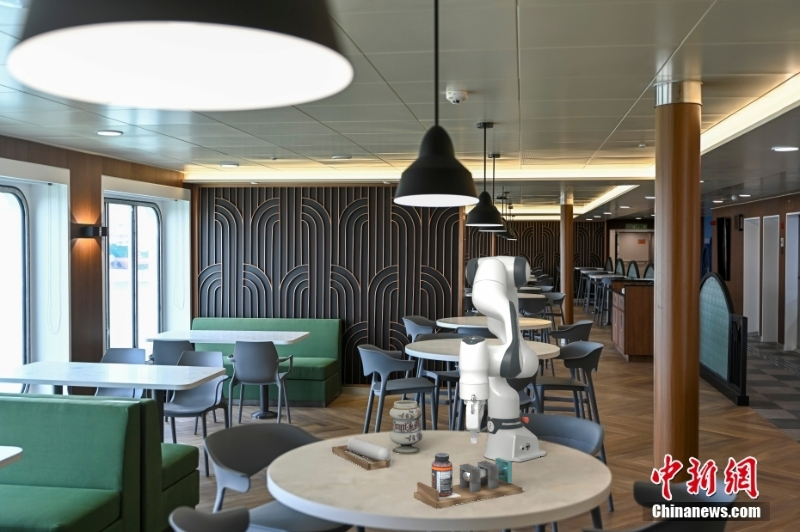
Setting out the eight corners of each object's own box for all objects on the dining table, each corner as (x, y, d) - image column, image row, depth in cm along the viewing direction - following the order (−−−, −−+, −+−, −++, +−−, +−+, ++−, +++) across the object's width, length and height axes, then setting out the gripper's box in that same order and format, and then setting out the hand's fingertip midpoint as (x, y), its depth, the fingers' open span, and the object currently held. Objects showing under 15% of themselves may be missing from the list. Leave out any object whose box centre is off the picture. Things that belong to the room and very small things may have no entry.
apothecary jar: (402, 445, 276) (402, 397, 276) (429, 450, 269) (428, 401, 269) (382, 452, 266) (382, 402, 266) (410, 457, 259) (409, 406, 259)
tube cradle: (352, 449, 270) (352, 444, 270) (388, 467, 245) (388, 461, 245) (332, 452, 266) (332, 447, 266) (367, 470, 241) (367, 464, 241)
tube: (390, 465, 246) (357, 453, 268) (394, 449, 247) (361, 438, 269) (377, 461, 244) (345, 450, 266) (381, 445, 245) (349, 435, 267)
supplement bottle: (430, 491, 212) (430, 451, 212) (450, 490, 212) (450, 451, 213) (432, 497, 206) (432, 456, 206) (453, 497, 206) (453, 456, 207)
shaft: (499, 477, 223) (499, 457, 223) (512, 482, 218) (511, 462, 218) (459, 484, 216) (459, 463, 216) (471, 489, 211) (471, 468, 211)
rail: (497, 482, 227) (497, 455, 227) (522, 492, 216) (522, 464, 216) (413, 497, 212) (413, 469, 212) (436, 509, 201) (436, 479, 201)
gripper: (483, 398, 205) (484, 448, 205) (487, 386, 225) (488, 430, 226) (460, 398, 206) (461, 447, 207) (466, 385, 226) (467, 430, 227)
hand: (475, 438), depth 216 cm, fingers open, 8 cm apart
